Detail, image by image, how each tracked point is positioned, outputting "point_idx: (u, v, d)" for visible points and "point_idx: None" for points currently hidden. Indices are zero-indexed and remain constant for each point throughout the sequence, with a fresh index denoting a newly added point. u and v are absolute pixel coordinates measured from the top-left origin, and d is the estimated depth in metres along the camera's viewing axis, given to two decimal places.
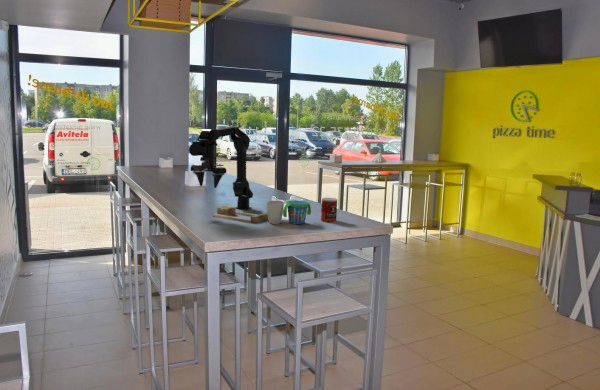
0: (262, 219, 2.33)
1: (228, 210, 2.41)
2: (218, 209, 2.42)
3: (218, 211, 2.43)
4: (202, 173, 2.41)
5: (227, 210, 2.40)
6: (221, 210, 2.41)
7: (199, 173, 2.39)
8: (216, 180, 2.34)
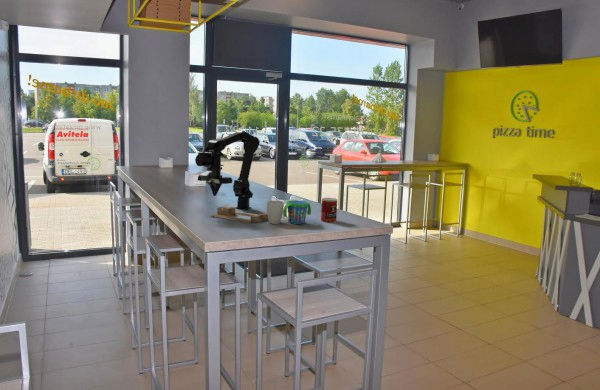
0: (262, 219, 2.33)
1: (229, 210, 2.41)
2: (218, 209, 2.42)
3: (218, 211, 2.42)
4: None
5: (228, 210, 2.40)
6: (222, 210, 2.41)
7: (212, 183, 2.46)
8: (216, 188, 2.46)
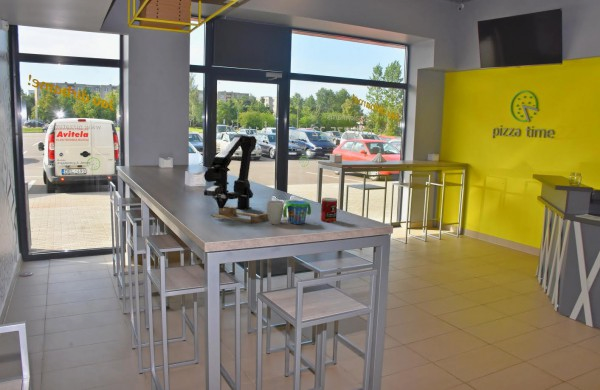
0: (262, 219, 2.33)
1: (230, 210, 2.40)
2: (219, 210, 2.41)
3: (219, 211, 2.41)
4: None
5: (229, 210, 2.40)
6: (223, 210, 2.40)
7: (219, 198, 2.45)
8: (222, 204, 2.44)
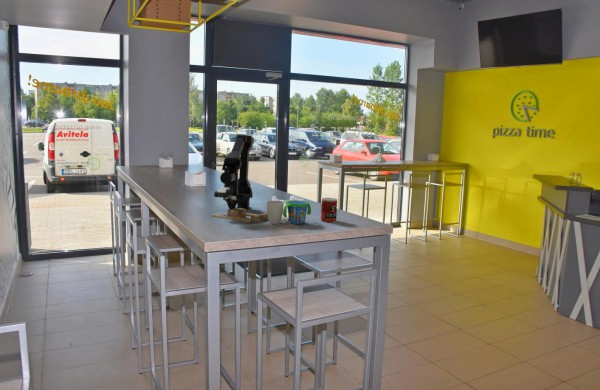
0: (262, 219, 2.33)
1: (238, 212, 2.36)
2: (228, 211, 2.37)
3: (228, 213, 2.38)
4: None
5: (237, 212, 2.35)
6: (231, 212, 2.36)
7: (229, 200, 2.41)
8: (233, 205, 2.41)
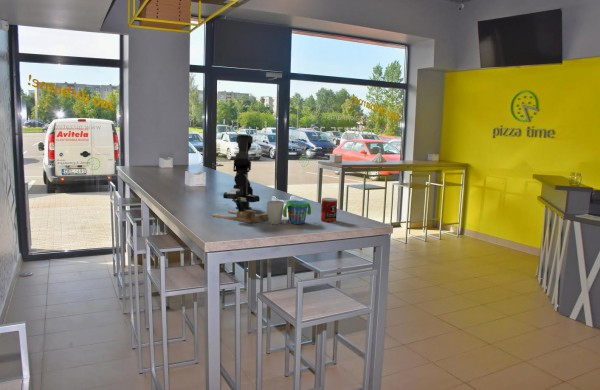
0: (262, 219, 2.33)
1: (247, 214, 2.33)
2: (237, 213, 2.34)
3: (237, 215, 2.35)
4: None
5: (246, 214, 2.32)
6: (241, 214, 2.33)
7: (239, 201, 2.38)
8: (242, 207, 2.38)
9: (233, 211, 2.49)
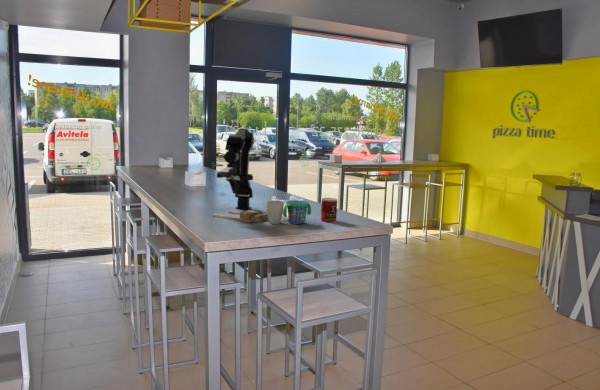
0: (262, 219, 2.33)
1: (251, 215, 2.32)
2: (241, 213, 2.33)
3: (240, 215, 2.34)
4: None
5: (250, 215, 2.31)
6: (244, 214, 2.32)
7: (232, 180, 2.39)
8: (236, 186, 2.38)
9: (233, 211, 2.49)
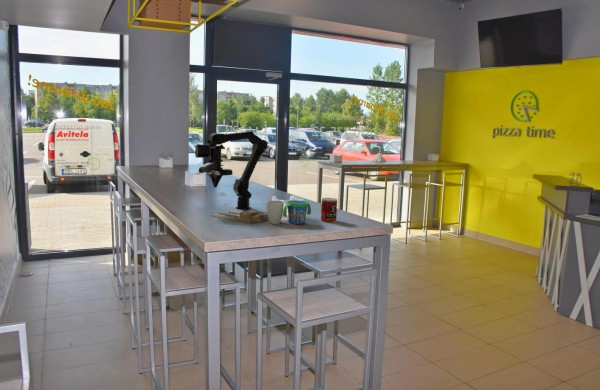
0: (262, 219, 2.33)
1: (251, 215, 2.32)
2: (241, 214, 2.33)
3: (240, 216, 2.33)
4: None
5: (250, 215, 2.31)
6: (244, 214, 2.32)
7: (213, 175, 2.53)
8: (216, 180, 2.53)
9: (233, 211, 2.49)
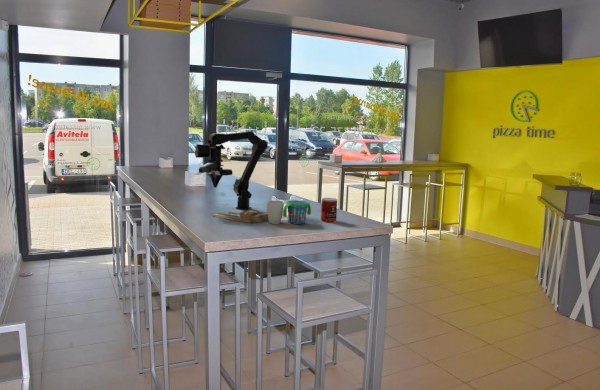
0: (262, 219, 2.33)
1: (252, 215, 2.32)
2: (241, 214, 2.33)
3: (240, 216, 2.33)
4: None
5: (251, 215, 2.31)
6: (245, 215, 2.32)
7: None
8: (216, 180, 2.53)
9: (233, 211, 2.49)
